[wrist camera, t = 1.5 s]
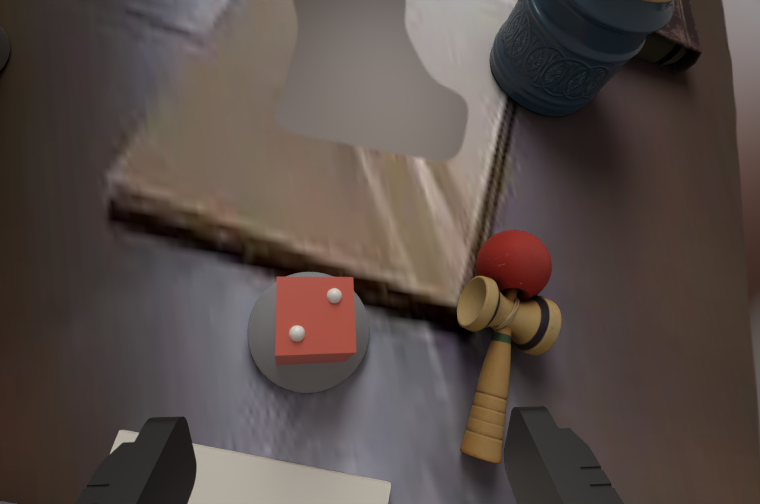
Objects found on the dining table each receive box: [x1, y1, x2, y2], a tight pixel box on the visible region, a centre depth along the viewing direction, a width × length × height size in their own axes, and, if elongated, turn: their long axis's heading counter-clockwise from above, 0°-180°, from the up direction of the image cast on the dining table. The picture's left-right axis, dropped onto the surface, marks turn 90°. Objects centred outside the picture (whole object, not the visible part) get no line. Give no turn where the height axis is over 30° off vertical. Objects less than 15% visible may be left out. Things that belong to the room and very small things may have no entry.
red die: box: [248, 272, 369, 393], centre depth 30 cm, size 9×9×6 cm
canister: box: [490, 0, 675, 117], centre depth 41 cm, size 13×13×18 cm
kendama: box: [457, 230, 561, 464], centre depth 33 cm, size 8×6×18 cm
